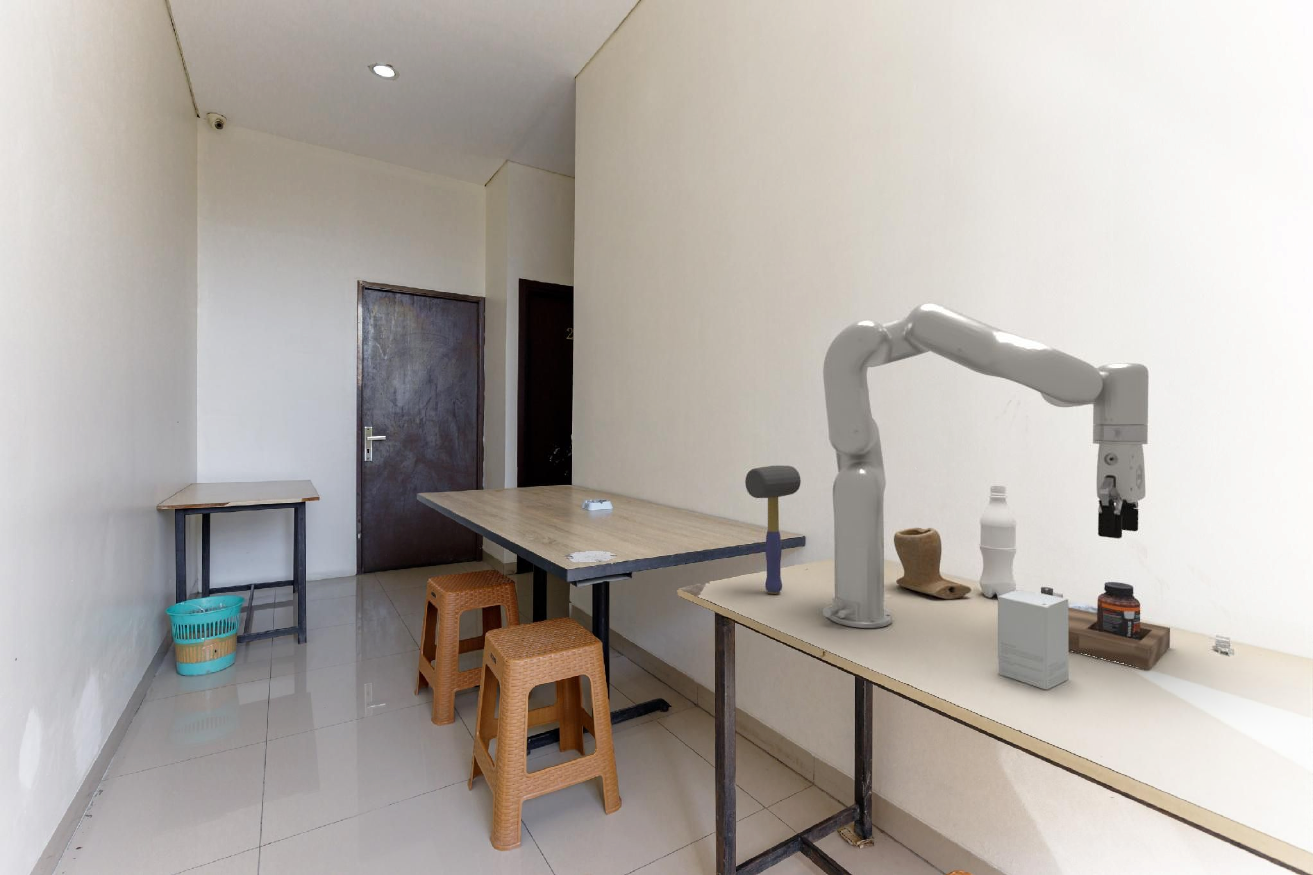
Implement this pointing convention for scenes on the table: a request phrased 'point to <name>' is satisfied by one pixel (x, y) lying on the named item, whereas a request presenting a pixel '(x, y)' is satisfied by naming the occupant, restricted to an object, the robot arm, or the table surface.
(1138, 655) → the socket block
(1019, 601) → the supplement box
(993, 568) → the water bottle
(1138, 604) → the supplement bottle
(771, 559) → the rubber mallet
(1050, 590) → the locking bolt
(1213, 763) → the table surface
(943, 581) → the tan boot-shaped piece
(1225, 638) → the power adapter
